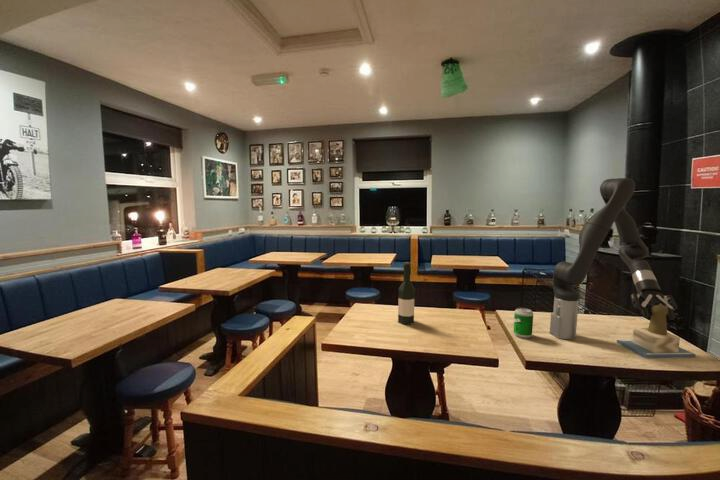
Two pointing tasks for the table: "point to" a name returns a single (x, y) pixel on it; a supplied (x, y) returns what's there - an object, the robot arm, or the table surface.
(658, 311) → the cork
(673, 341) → the maple pedestal
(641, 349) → the board
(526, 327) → the soda can
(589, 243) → the robot arm
